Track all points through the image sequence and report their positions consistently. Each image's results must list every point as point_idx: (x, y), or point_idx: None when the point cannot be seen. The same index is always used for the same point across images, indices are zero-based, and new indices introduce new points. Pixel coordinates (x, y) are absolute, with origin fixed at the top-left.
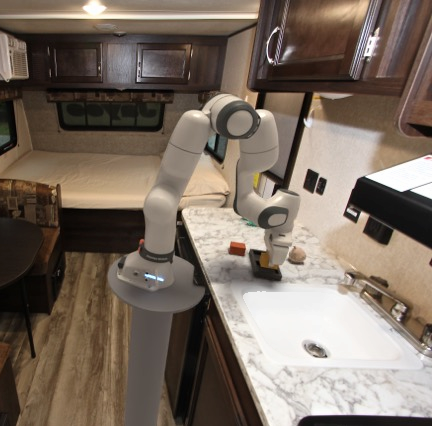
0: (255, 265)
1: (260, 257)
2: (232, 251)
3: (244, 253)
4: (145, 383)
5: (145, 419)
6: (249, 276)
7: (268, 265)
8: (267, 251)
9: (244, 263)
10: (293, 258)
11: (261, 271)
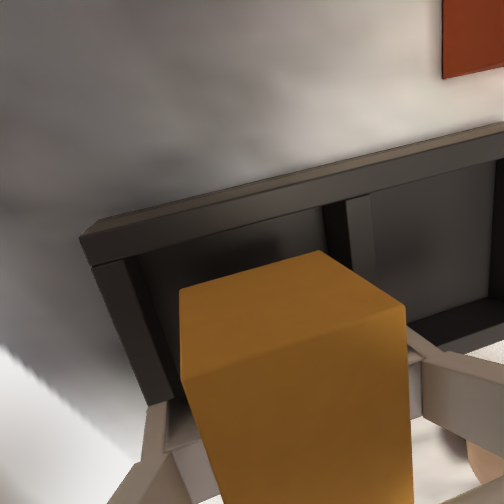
0: (224, 216)
1: (331, 273)
2: None
3: (472, 66)
4: None
5: None
6: (71, 174)
7: (149, 408)
8: (463, 384)
9: (307, 95)
10: (487, 452)
11: (126, 296)
